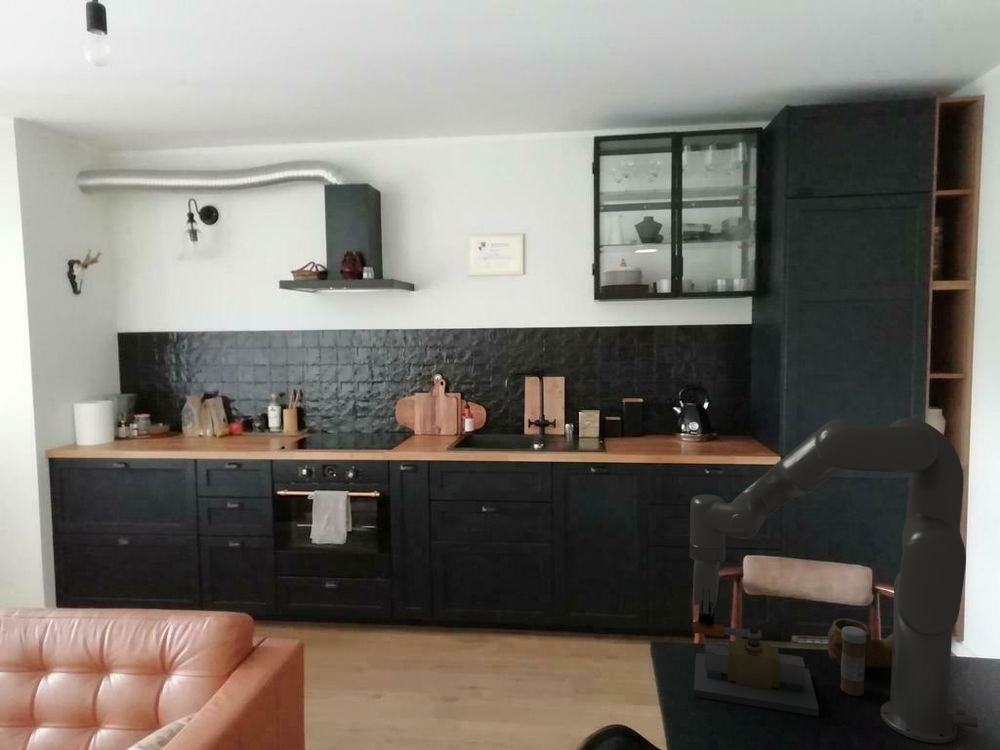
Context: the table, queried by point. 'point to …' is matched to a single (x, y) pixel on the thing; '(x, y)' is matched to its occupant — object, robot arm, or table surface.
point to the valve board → (755, 692)
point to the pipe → (875, 650)
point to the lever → (726, 630)
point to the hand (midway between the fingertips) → (706, 630)
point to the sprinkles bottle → (853, 660)
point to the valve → (754, 665)
